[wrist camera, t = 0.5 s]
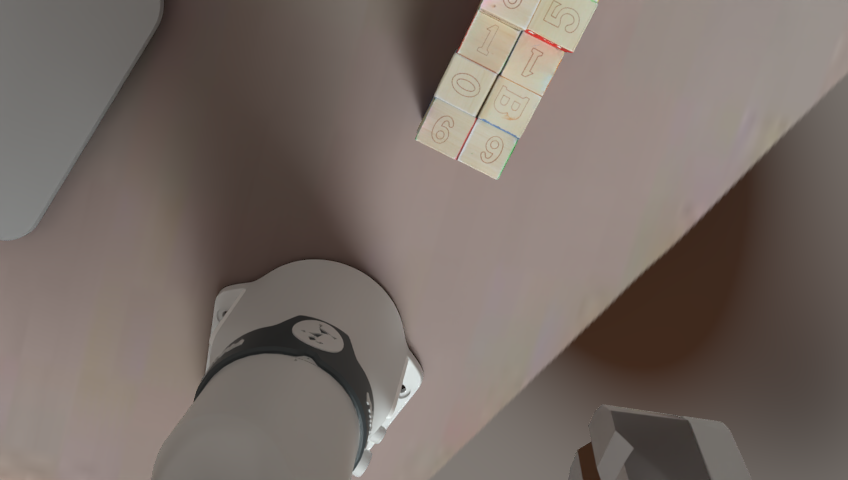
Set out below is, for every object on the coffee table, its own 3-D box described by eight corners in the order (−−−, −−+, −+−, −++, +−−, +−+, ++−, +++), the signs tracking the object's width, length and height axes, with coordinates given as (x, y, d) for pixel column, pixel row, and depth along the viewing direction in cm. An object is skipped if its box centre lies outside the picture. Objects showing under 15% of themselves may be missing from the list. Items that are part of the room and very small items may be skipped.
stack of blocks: (491, 157, 54) (498, 193, 42) (420, 121, 53) (406, 147, 42) (636, -116, 48) (692, -162, 36) (557, -159, 47) (587, -221, 35)
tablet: (-139, 130, 57) (-163, 134, 55) (1, -154, 50) (-21, -162, 48) (31, 247, 59) (15, 255, 57) (188, -9, 52) (176, -10, 50)
